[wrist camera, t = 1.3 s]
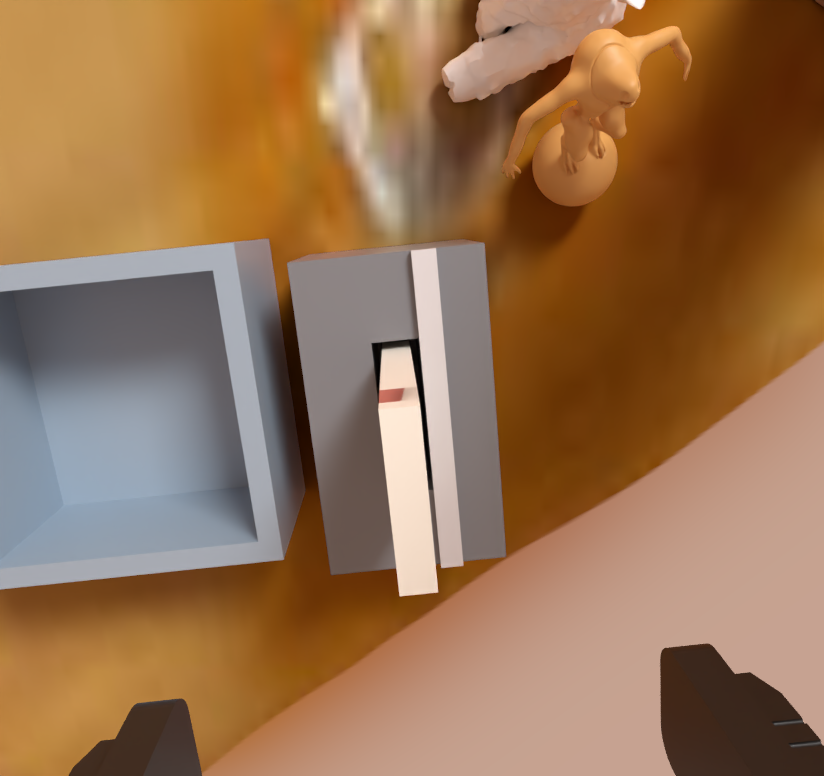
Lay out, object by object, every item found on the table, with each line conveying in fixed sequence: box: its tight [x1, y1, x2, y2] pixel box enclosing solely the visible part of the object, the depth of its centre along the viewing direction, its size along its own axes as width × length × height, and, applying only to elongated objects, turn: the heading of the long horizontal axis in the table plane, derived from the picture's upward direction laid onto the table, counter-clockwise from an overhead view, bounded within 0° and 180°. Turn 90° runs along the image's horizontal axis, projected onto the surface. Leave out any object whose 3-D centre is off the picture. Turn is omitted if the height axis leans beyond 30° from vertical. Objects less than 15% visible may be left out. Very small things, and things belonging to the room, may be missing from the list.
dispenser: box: [287, 239, 506, 575], centre depth 32 cm, size 14×8×8 cm, turn 6°
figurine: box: [502, 26, 692, 206], centre depth 28 cm, size 8×6×12 cm
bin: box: [0, 239, 306, 589], centre depth 32 cm, size 14×14×8 cm
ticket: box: [378, 339, 438, 596], centre depth 28 cm, size 6×1×16 cm, turn 6°
